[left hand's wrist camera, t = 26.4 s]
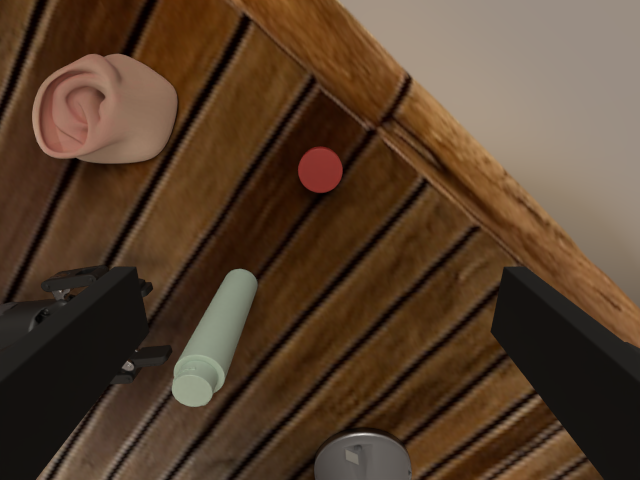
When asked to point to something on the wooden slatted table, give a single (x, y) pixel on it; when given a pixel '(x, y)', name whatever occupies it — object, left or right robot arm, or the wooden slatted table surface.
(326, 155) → the lid
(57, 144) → the anatomical model
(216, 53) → the wooden slatted table surface
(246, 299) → the pale green slim bottle
